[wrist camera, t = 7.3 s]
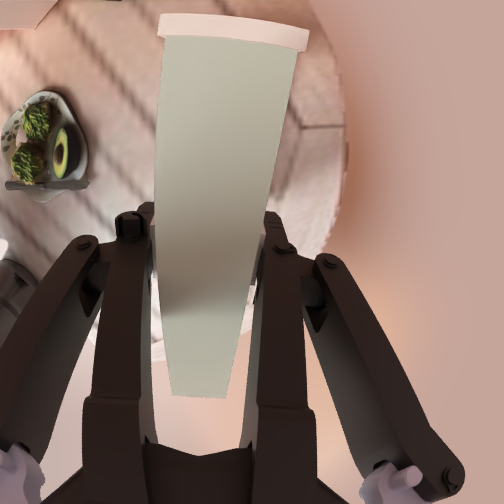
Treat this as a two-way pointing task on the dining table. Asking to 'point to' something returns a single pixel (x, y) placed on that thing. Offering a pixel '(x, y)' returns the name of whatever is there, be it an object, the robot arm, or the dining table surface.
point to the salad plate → (45, 148)
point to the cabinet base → (233, 29)
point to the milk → (23, 13)
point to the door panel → (212, 195)
